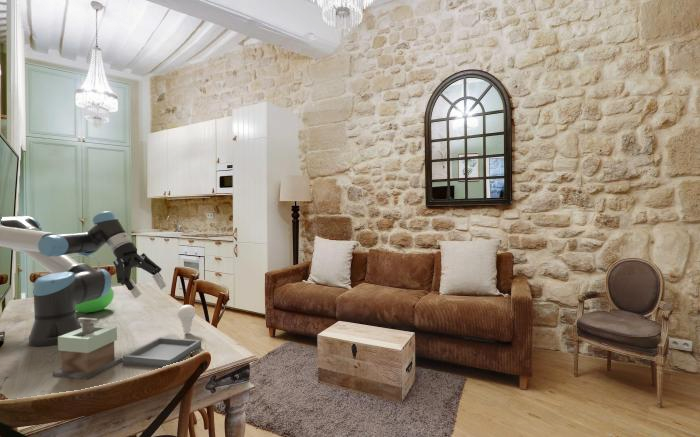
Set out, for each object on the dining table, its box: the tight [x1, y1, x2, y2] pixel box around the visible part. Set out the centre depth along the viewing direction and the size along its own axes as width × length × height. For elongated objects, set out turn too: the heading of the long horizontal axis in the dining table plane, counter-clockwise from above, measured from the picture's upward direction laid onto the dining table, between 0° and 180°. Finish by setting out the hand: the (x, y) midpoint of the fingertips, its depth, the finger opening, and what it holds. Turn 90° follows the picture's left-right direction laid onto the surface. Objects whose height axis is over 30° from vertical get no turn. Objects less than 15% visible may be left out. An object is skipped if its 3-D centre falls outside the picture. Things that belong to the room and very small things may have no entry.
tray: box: [122, 336, 202, 369], centre depth 115 cm, size 16×16×2 cm
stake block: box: [52, 317, 123, 380], centre depth 106 cm, size 12×12×15 cm
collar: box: [57, 325, 118, 353], centre depth 106 cm, size 10×10×4 cm
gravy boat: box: [76, 287, 115, 314], centre depth 162 cm, size 18×17×15 cm
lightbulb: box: [177, 304, 196, 335], centre depth 135 cm, size 6×6×11 cm
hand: (151, 291), depth 137 cm, fingers open, 13 cm apart
